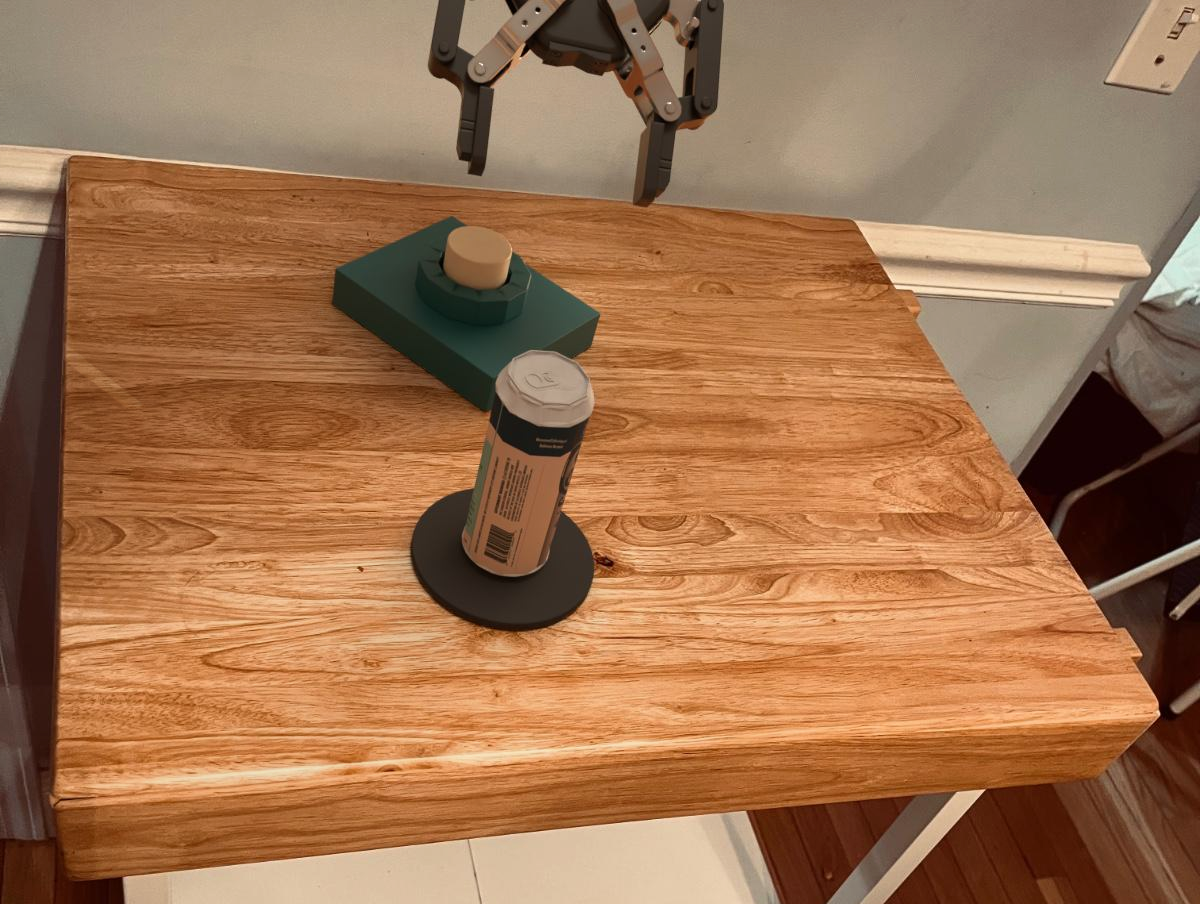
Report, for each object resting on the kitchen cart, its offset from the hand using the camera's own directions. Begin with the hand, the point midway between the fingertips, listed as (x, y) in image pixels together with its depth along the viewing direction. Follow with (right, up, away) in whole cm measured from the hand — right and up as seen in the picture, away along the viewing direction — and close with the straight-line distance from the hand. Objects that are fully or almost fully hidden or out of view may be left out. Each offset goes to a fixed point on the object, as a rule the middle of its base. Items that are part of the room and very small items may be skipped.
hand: (561, 187), depth 59 cm
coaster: (-3, -18, +6) cm, 19 cm away
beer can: (-3, -18, +5) cm, 19 cm away
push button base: (-7, -3, +18) cm, 20 cm away
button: (-6, 0, +15) cm, 17 cm away
